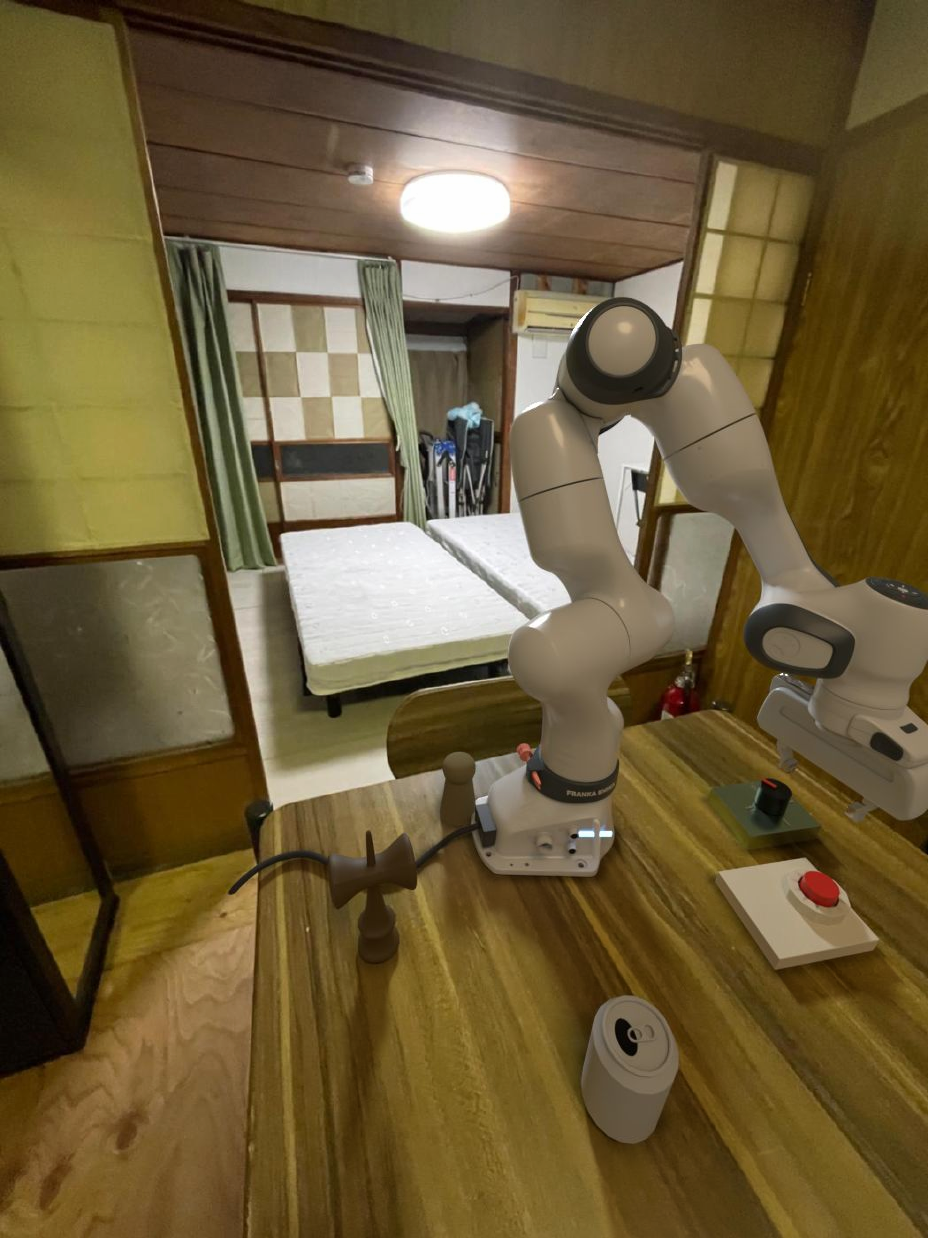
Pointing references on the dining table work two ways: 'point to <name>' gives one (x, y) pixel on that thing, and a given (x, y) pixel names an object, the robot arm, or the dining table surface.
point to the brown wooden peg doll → (458, 789)
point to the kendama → (373, 892)
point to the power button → (819, 888)
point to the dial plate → (761, 818)
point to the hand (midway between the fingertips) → (817, 792)
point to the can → (628, 1068)
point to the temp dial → (773, 796)
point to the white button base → (792, 915)
